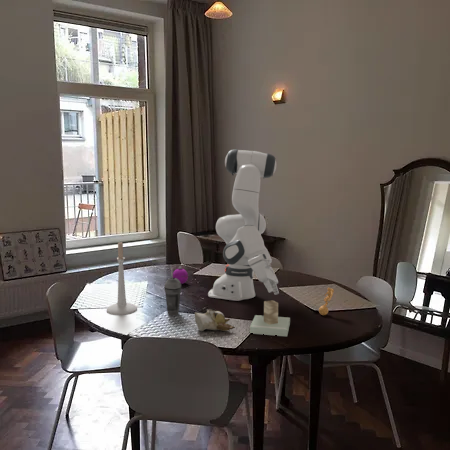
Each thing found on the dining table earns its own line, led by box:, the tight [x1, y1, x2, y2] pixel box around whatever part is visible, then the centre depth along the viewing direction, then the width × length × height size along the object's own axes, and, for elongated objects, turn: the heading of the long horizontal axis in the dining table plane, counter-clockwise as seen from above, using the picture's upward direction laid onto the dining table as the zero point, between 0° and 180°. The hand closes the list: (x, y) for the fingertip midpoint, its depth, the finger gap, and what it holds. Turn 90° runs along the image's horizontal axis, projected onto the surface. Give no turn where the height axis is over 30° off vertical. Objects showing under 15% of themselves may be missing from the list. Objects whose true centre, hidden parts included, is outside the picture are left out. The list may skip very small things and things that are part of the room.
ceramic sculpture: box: [194, 308, 236, 332], centre depth 186 cm, size 11×9×15 cm
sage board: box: [249, 314, 291, 337], centre depth 188 cm, size 14×14×3 cm
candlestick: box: [106, 241, 138, 316], centre depth 206 cm, size 13×13×30 cm
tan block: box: [263, 300, 279, 324], centre depth 187 cm, size 4×4×8 cm
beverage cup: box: [164, 266, 182, 317], centre depth 202 cm, size 7×7×20 cm
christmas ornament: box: [173, 264, 189, 285], centre depth 250 cm, size 8×8×10 cm
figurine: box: [318, 286, 335, 316], centre depth 203 cm, size 8×6×12 cm
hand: (274, 293), depth 189 cm, fingers open, 8 cm apart
